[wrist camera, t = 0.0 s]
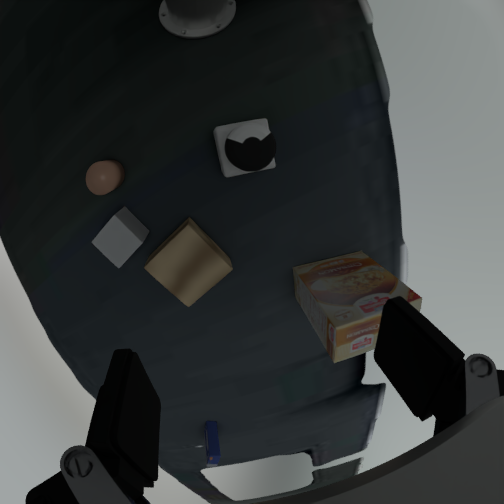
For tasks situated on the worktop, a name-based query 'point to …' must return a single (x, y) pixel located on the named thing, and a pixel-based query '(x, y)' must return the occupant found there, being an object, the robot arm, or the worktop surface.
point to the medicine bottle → (245, 147)
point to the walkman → (211, 444)
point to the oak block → (188, 263)
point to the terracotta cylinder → (104, 176)
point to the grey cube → (121, 237)
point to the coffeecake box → (347, 301)
